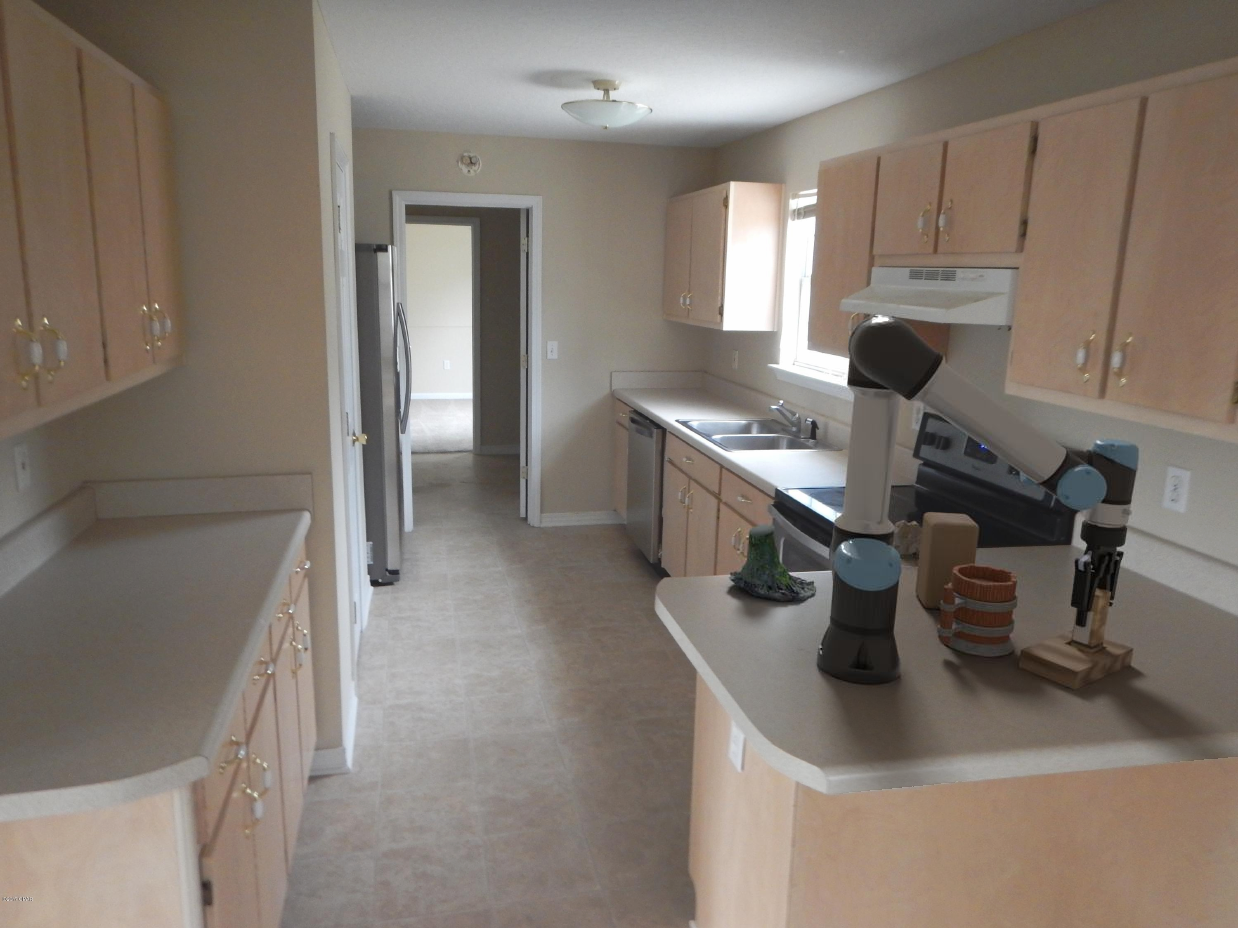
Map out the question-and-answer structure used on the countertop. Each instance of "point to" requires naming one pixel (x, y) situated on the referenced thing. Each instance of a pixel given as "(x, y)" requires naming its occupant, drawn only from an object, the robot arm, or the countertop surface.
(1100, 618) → the peg
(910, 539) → the rock
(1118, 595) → the countertop surface
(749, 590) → the tree stump
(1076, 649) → the board
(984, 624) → the mug
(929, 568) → the wooden block
